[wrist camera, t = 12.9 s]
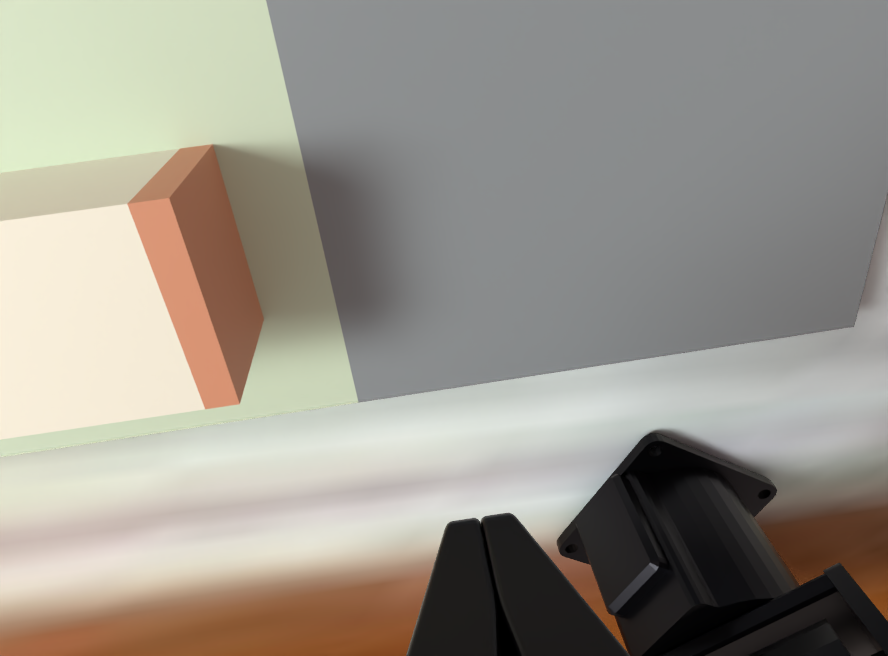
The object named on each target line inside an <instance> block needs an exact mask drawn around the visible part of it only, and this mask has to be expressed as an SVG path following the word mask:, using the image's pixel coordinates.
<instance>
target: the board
mask: <svg viewBox="0 0 888 656" xmlns="http://www.w3.org/2000/svg"><path fill="white" fill-rule="evenodd" d="M210 144H213V147H214V150H215V153H216V157H217V160H218V164H219V167H220V171H221V174H222V177H223V181H224V184H225V188H226V191H227V194H228V198H229V201H230V205H231V208H232V211H233V215H234V218H235V222H236V225H237V229H238V232H239V235H240V239H241V242H242V246H243V249H244V252H245V256H246V259H247V263H248V266H249V269H250V273H251V276H252V280H253V283H254V286H255V290H256V293H257V297H258V300H259V304H260V307H261V310H262V314H263V317H264V321H263V325H262V328H261V332H260V335H259V339H258V342H257V346H256V349H255V353H254V356H253V360H252V363H251V367H250V370H249V374H248V377H247V381H246V384H245V388H244V391H243V395H242V398H241V402H240V404H238V405H231V406H225V407H218V408H211V409H204V410H198V411H191V412H184V413H177V414H170V415H164V416H157V417H150V418H143V419H137V420H130V421H123V422H116V423H109V424H103V425H96V426H89V427H82V428H76V429H69V430H62V431H55V432H48V433H42V434H35V435H28V436H21V437H15V438H8V439H1V440H0V457H6V456H12V455H19V454H25V453H32V452H38V451H45V450H51V449H58V448H64V447H71V446H77V445H84V444H90V443H97V442H104V441H110V440H117V439H123V438H130V437H136V436H143V435H149V434H156V433H162V432H169V431H175V430H182V429H188V428H195V427H202V426H208V425H215V424H221V423H228V422H234V421H241V420H247V419H254V418H260V417H267V416H273V415H280V414H287V413H293V412H300V411H306V410H313V409H319V408H326V407H332V406H339V405H345V404H352V403H358V402H365V401H371V400H378V399H385V398H391V397H398V396H404V395H411V394H417V393H424V392H430V391H437V390H443V389H450V388H456V387H463V386H469V385H476V384H483V383H489V382H496V381H502V380H509V379H515V378H522V377H528V376H535V375H541V374H548V373H554V372H561V371H567V370H574V369H581V368H587V367H594V366H600V365H607V364H613V363H620V362H626V361H633V360H639V359H646V358H652V357H659V356H665V355H672V354H679V353H685V352H692V351H698V350H705V349H711V348H718V347H724V346H731V345H737V344H744V343H750V342H757V341H764V340H770V339H777V338H783V337H790V336H796V335H803V334H809V333H816V332H822V331H829V330H835V329H842V328H848V327H854V325H855V321H856V317H857V313H858V309H859V305H860V301H861V297H862V293H863V289H864V285H865V281H866V277H867V273H868V269H869V265H870V262H871V258H872V254H873V250H874V246H875V242H876V238H877V234H878V230H879V226H880V222H881V218H882V214H883V210H884V206H885V202H886V198H887V194H888V0H0V173H2V172H10V171H17V170H25V169H32V168H40V167H47V166H54V165H62V164H69V163H77V162H84V161H91V160H99V159H106V158H114V157H121V156H128V155H136V154H143V153H151V152H158V151H165V150H173V149H180V148H188V147H195V146H203V145H210Z"/></svg>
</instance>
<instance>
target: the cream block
mask: <svg viewBox="0 0 888 656" xmlns="http://www.w3.org/2000/svg"><path fill="white" fill-rule="evenodd" d="M263 321H264V317H263V314H262V310H261V307H260V304H259V300H258V297H257V293H256V290H255V286H254V283H253V280H252V276H251V273H250V269H249V266H248V263H247V259H246V256H245V252H244V249H243V246H242V242H241V239H240V235H239V232H238V229H237V225H236V222H235V218H234V215H233V211H232V208H231V205H230V201H229V198H228V194H227V191H226V188H225V184H224V181H223V177H222V174H221V171H220V167H219V164H218V160H217V157H216V153H215V150H214V147H213V144H210V145H203V146H195V147H188V148H180V149H173V150H165V151H158V152H151V153H143V154H136V155H128V156H121V157H114V158H106V159H99V160H91V161H84V162H77V163H69V164H62V165H54V166H47V167H40V168H32V169H25V170H17V171H10V172H2V173H0V440H1V439H8V438H15V437H21V436H28V435H35V434H42V433H48V432H55V431H62V430H69V429H76V428H82V427H89V426H96V425H103V424H109V423H116V422H123V421H130V420H137V419H143V418H150V417H157V416H164V415H170V414H177V413H184V412H191V411H198V410H204V409H211V408H218V407H225V406H231V405H238V404H240V402H241V398H242V395H243V391H244V388H245V384H246V381H247V377H248V374H249V370H250V367H251V363H252V360H253V356H254V353H255V349H256V346H257V342H258V339H259V335H260V332H261V328H262V325H263Z"/></svg>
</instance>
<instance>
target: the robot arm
mask: <svg viewBox="0 0 888 656" xmlns="http://www.w3.org/2000/svg"><path fill="white" fill-rule="evenodd" d="M654 446H656V447H655V448H653V449H651V448H652V447H654ZM776 493H777V489H776V487H775V486H774V484H773V483H772V482H771V480H769V479H768V478H766V477H763V476H761V475H758V474H756V473H754V472H751V471H749V470H746V469H744V468H741V467H739V466H736V465H734V464H731V463H729V462H727V461H724V460H722V459H719V458H717V457H714V456H712V455H709V454H707V453H705V452H702V451H700V450H697V449H695V448H692V447H690V446H687V445H685V444H683V443H680V442H678V441H675V440H673V439H670V438H668V437H665V436H663V435H660V434H656V433H654V434H649V435H647V436H645V437H644V438H642V439H641V440H640V441H639V443H638V444H637V445H636V446H635V447H634V449H633V450H632V451H631V452H630V453H629V455H628V456H627V457H626V458H625V459H624V461H623V462H622V463H621V464H620V465H619V466H618V468H617V469H616V470H615V471H614V472H613V474H612V475H611V476H610V477H609V478H608V480H607V481H606V482H605V483H604V484H603V485H602V487H601V488H600V489H599V490H598V491H597V493H596V494H595V495H594V496H593V497H592V499H591V500H590V501H589V502H588V503H587V504H586V506H585V507H584V508H583V509H582V510H581V512H580V513H579V514H578V515H577V516H576V518H575V519H574V520H573V521H572V522H571V524H570V525H569V526H568V527H567V528H566V529H565V531H564V532H563V533H562V534H561V535H560V537H559V538H558V540H557V546H558V549H559V552H560V554H561V555H562V556H564V557H567V558H570V559H574V560H577V561H580V562H583V563H586V564H590V565H591V567H592V570H593V573H594V576H595V578H596V581H597V584H598V587H599V590H600V592H601V595H602V598H603V601H604V603H605V606H606V609H607V611H608V613H609V614H611V615H614V616H615V619H616V621H617V624H618V627H619V630H620V632H621V635H622V638H623V640H624V643H625V646H626V649H627V651H628V653H627V651H626V650H625V649H624V648H623V647H622V645H621V644H620V643H619V642H618V640H617V639H616V638H615V637H614V636H613V634H612V633H611V632H610V631H609V629H608V628H607V627H606V626H605V625H604V623H603V622H602V621H601V620H600V619H599V617H598V616H597V615H596V614H595V612H594V611H593V610H592V609H591V608H590V606H589V605H588V604H587V603H586V601H585V600H584V599H583V598H582V597H581V595H580V594H579V593H578V592H577V591H576V589H575V588H574V587H573V586H572V584H571V583H570V582H569V581H568V580H567V578H566V577H565V576H564V575H563V574H562V572H561V571H560V570H559V569H558V567H557V566H556V565H555V564H554V563H553V561H552V560H551V559H550V558H549V556H548V555H547V554H546V553H545V552H544V550H543V549H542V548H541V547H540V546H539V544H538V543H537V542H536V541H535V539H534V538H533V537H532V536H531V535H530V533H529V532H528V531H527V530H526V528H525V527H524V526H523V525H522V524H521V522H520V521H519V520H518V519H517V518H516V517H515V516H514V515H513V514H511V513H503V514H497V515H490V516H485V517H483V518H482V520H481V524H480V521H479V520H478V519H476V518H471V519H464V520H458V521H452V522H449V523H448V524H447V526H446V528H445V531H444V534H443V537H442V540H441V544H440V547H439V550H438V554H437V557H436V560H435V563H434V567H433V570H432V573H431V576H430V580H429V583H428V586H427V589H426V593H425V596H424V599H423V602H422V606H421V609H420V612H419V616H418V619H417V622H416V625H415V629H414V632H413V635H412V638H411V642H410V645H409V648H408V651H407V655H406V656H888V621H887V620H886V619H885V618H884V616H883V615H882V614H881V613H880V611H879V610H878V609H877V608H876V607H875V605H874V604H873V603H872V602H871V600H870V599H869V598H868V597H867V595H866V594H865V593H864V592H863V591H862V589H861V588H860V587H859V586H858V584H857V583H856V582H855V581H854V580H853V578H852V577H851V576H850V575H849V573H848V572H847V571H846V570H845V568H844V567H843V566H842V565H841V564H840V563H837V564H835V565H833V566H831V567H829V568H827V569H825V570H823V571H824V573H825V574H823V575H821V576H819V577H817V578H815V579H813V580H811V581H809V582H807V583H805V584H803V585H801V586H800V585H799V584H798V582H797V581H796V579H795V578H794V576H793V575H792V573H791V572H790V570H789V569H788V567H787V566H786V564H785V563H784V561H783V560H782V558H781V557H780V556H779V554H778V553H777V551H776V550H775V548H774V547H773V545H772V544H771V542H770V541H769V539H768V538H767V536H766V535H765V533H764V532H763V530H762V529H761V528H760V526H759V525H758V523H757V522H756V520H755V519H754V517H755V516H756V515H757V514H758V513H759V512H760V511H761V510H762V509H763V508H764V507H765V506H766V505H767V504H768V503H769V502H770V501H771V500H772V499H773V498H774V496H775V495H776Z"/></svg>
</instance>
